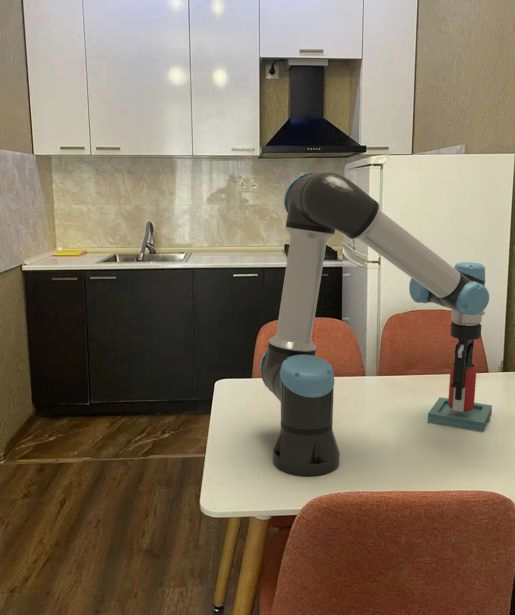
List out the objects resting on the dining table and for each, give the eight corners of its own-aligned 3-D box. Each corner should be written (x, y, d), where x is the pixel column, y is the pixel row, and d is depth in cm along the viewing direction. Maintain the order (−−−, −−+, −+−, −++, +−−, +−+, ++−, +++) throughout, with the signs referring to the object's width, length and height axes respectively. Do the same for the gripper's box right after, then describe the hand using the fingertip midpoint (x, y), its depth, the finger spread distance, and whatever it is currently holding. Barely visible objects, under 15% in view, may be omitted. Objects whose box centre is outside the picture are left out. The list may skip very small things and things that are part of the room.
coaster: (483, 432, 154) (484, 422, 153) (427, 422, 160) (428, 413, 160) (491, 414, 166) (492, 405, 165) (439, 405, 172) (439, 397, 172)
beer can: (475, 413, 158) (478, 369, 156) (449, 411, 160) (452, 367, 157) (471, 404, 165) (475, 362, 162) (446, 402, 166) (449, 360, 164)
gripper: (475, 331, 148) (468, 421, 152) (487, 316, 164) (481, 397, 169) (443, 328, 151) (438, 415, 156) (458, 313, 168) (453, 393, 172)
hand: (460, 406), depth 162 cm, fingers closed on beer can, 7 cm apart
